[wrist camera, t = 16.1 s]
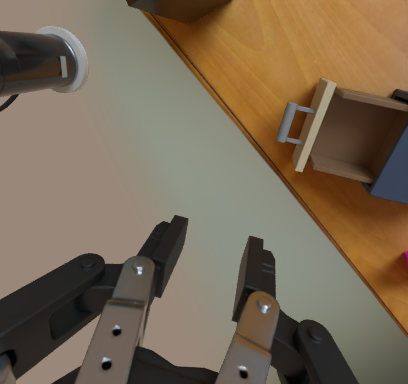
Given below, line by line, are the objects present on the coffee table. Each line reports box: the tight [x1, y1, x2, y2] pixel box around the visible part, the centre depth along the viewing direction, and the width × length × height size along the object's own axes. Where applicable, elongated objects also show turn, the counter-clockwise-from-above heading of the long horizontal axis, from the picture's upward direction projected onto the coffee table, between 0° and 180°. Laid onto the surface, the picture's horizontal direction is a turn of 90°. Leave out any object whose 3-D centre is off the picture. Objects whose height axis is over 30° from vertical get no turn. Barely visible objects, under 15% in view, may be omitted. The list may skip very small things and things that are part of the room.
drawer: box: [276, 78, 408, 184], centre depth 43 cm, size 18×14×7 cm
